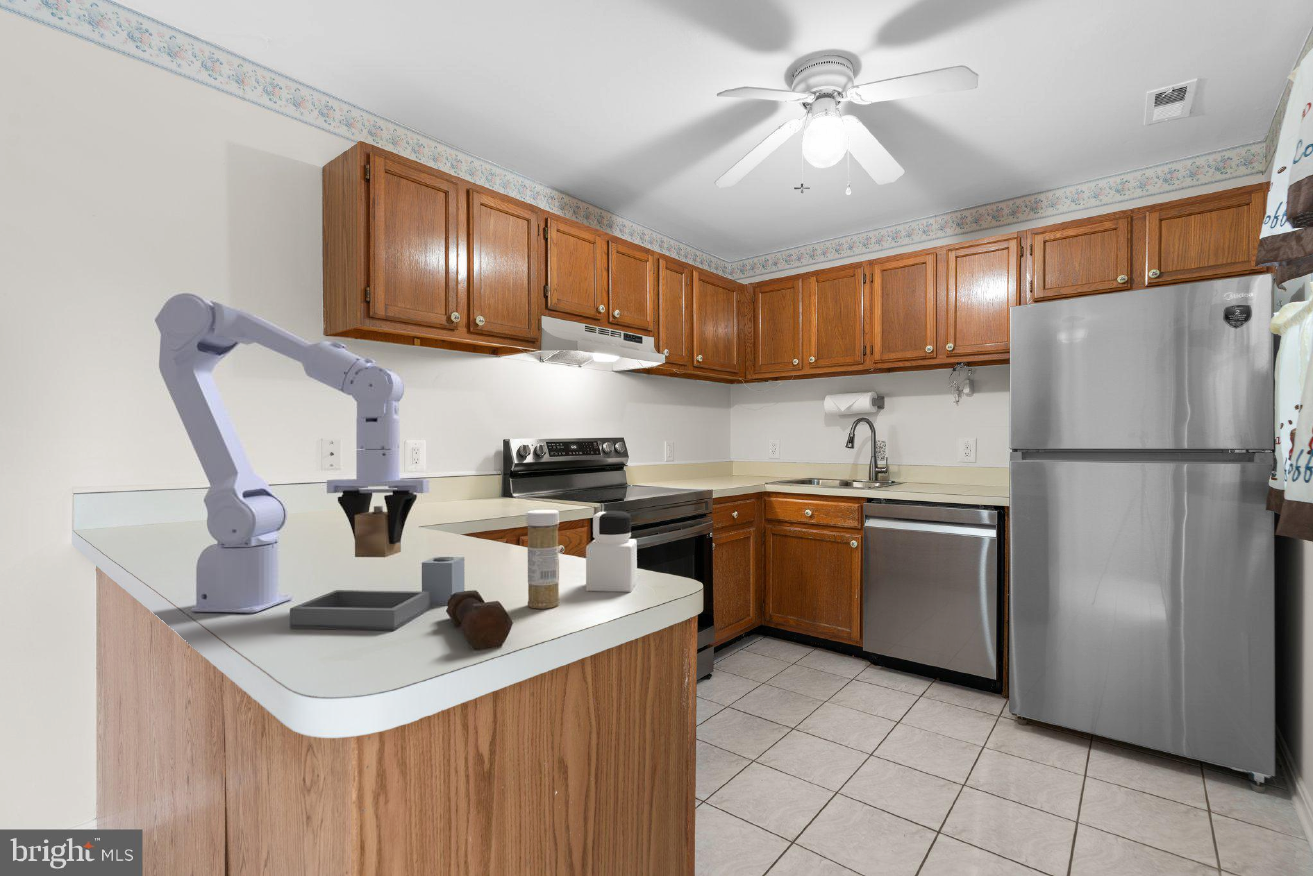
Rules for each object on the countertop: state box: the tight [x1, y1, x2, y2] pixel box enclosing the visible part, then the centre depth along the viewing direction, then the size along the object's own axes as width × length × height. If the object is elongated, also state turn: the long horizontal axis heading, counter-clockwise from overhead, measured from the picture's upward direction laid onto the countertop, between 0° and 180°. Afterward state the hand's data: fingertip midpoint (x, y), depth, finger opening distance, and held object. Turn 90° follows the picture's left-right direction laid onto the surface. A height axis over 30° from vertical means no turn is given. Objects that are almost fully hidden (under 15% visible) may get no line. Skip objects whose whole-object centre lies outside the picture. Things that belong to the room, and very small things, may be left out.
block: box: [354, 505, 402, 558], centre depth 90 cm, size 4×4×7 cm
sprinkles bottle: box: [525, 509, 560, 610], centre depth 87 cm, size 5×5×14 cm
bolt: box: [445, 589, 514, 651], centre depth 75 cm, size 6×5×15 cm
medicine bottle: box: [585, 510, 638, 593], centre depth 98 cm, size 7×7×12 cm
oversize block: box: [421, 556, 466, 605], centre depth 90 cm, size 4×4×6 cm
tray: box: [289, 589, 431, 632], centre depth 81 cm, size 14×10×2 cm
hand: (378, 542), depth 90 cm, fingers closed on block, 4 cm apart
